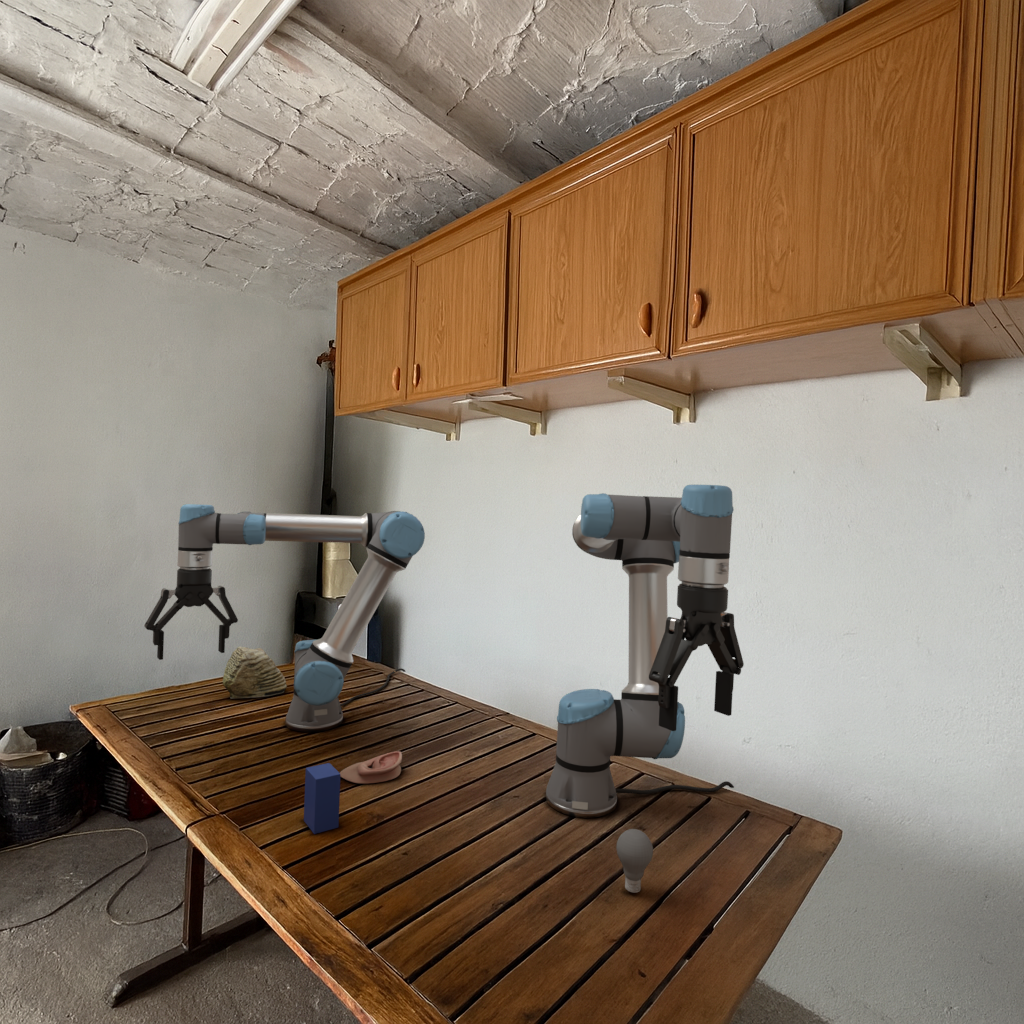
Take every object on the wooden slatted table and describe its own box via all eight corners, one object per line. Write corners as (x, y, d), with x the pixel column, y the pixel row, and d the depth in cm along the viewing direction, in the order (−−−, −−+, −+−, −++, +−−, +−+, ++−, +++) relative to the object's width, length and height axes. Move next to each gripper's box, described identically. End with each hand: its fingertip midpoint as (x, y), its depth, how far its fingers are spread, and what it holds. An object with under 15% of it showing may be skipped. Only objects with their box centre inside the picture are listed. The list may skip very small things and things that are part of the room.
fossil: (218, 695, 195) (220, 647, 195) (278, 685, 208) (279, 640, 207) (228, 703, 189) (230, 653, 188) (289, 692, 201) (290, 645, 201)
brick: (314, 834, 119) (316, 779, 119) (303, 820, 124) (305, 767, 124) (338, 827, 122) (340, 773, 122) (327, 814, 127) (329, 762, 126)
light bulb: (610, 879, 108) (613, 822, 108) (644, 879, 109) (647, 822, 109) (619, 902, 102) (622, 840, 102) (655, 901, 103) (658, 840, 103)
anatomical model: (332, 762, 141) (355, 743, 152) (332, 780, 141) (355, 759, 153) (388, 770, 139) (407, 750, 150) (388, 788, 139) (407, 766, 150)
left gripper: (138, 571, 143) (135, 665, 143) (252, 568, 158) (249, 652, 159) (132, 567, 148) (129, 657, 149) (243, 564, 164) (240, 646, 165)
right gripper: (669, 591, 88) (661, 743, 88) (770, 584, 103) (763, 714, 103) (629, 584, 94) (622, 726, 94) (730, 578, 109) (723, 701, 109)
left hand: (191, 655), depth 154 cm, fingers open, 13 cm apart
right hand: (696, 720), depth 99 cm, fingers open, 13 cm apart
